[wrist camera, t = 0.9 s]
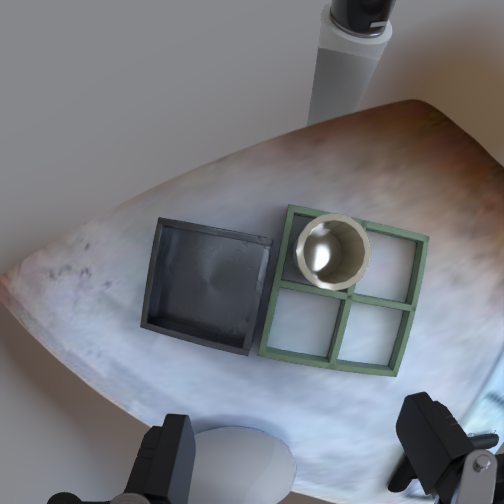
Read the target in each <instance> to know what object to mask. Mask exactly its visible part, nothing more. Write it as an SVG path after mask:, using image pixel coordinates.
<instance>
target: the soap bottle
mask: <svg viewBox="0 0 504 504" xmlns="http://www.w3.org/2000/svg"><path fill="white" fill-rule="evenodd" d="M194 438H195V443H196V455H195V461H194V467H193V473H192V479H191V485H190V491H189V497H188V503H187V504H277V503H278V502H280V501H281V500H282V499H283V498H285V496H287V495H288V494H289V493H290V490H291V488H292V485H293V482H294V479H295V476H296V471H297V466H296V463H295V460H294V457H293V455H292V453H291V451H290V449H289V447H288V446H287V445H286V444H285V443H284V442H283V441H282V440H280V439H278V438H275V437H273V436H271V435H269V434H267V433H265V432H263V431H260V430H256V429H252V428H247V427H235V426H233V427H222V428H218V429H213V430H208V431H203V432H201V433H198V434H196V435H194Z"/></svg>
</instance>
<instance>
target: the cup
mask: <svg viewBox="0 0 504 504" xmlns="http://www.w3.org/2000/svg"><path fill="white" fill-rule="evenodd" d="M292 254H293V260H294V264H295V266H296V267H297V269H298V270H299V272H300V273H301V274H302V275H303V276H304V277H305V278H306V279H307V280H308V281H310V282H311V283H313V284H314V285H316V286H317V287H319V288H321V289H326V290H331V291H337V290H341V289H346V288H349V287H350V286H352V285H353V284H355V283H356V282H357V281H359V280H360V279H361V278H362V276H363V275H364V273H365V272H366V270H367V268H368V266H369V262H370V256H371V248H370V243H369V238H368V236H367V234H366V233H365V231H364V230H363V228H362V226H361V225H360V224H359V223H357V222H356V221H354V220H353V219H352V218H350V217H348V216H345V215H341V214H336V213H331V214H326V215H321V216H318V217H317V218H315V219H314V220H313V221H311V222H310V223H308V224H307V225H306V226H305V228H304V229H303V230H302V232H301V233H300V234H299V236H298V237H297V239H296V240H295V242H294V246H293V252H292Z"/></svg>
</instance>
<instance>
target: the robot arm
mask: <svg viewBox="0 0 504 504" xmlns="http://www.w3.org/2000/svg"><path fill="white" fill-rule="evenodd" d="M395 2H396V0H332V4H331V8H330V13H329V15H330V19H331V21H332V22H333V24H334V25H335V26H336V27H337V28H339V29H340V30H342V31H343V32H345V33H347V34H349V35H352V36H355V37H359V38H365V39H371V38H377V37H379V36H381V35H382V34H383V33H384V31H385V29H386V25H387V22H388V20H389V17H390V15H391V12H392V10H393V7H394V5H395ZM396 433H397V436H398V438H399V440H400V442H401V444H402V446H403V448H404V450H405V452H406V454H407V456H408V458H409V460H410V462H411V464H412V466H413V469H414V471H415V473H416V475H417V477H418V479H419V481H420V483H421V485H422V487H423V489H424V492H425V494H426V495H428V494H430V493H433V492H435V491H437V493H438V496H437V498H436V500H435V503H434V504H504V454H498V455H494V454H493V453H491V452H490V451H488V450H484V449H478V450H477V449H476V447H475V446H474V445H473V443H472V442H471V440H470V439H469V438H468V436H467V435H466V433H465V432H464V431H463V429H462V428H461V426H460V425H459V424H458V422H457V421H456V419H455V418H454V417H453V415H452V414H451V413H450V411H449V410H448V409H447V407H446V406H444V405H443V404H441V403H440V402H438V401H432V399H431V398H430V396H429V395H428V394H427V393H426V392H420V393H416V394H412V395H408V396H406V397H405V399H404V402H403V405H402V408H401V411H400V414H399V417H398V419H397V422H396ZM195 455H196V443H195V438H194V434H193V430H192V426H191V422H190V418H189V416H188V415H180V414H167V415H166V417H165V420H164V423H163V426H162V427H160V426H153V427H152V428H151V429H150V430H149V431H148V432H147V433H146V434H145V435H144V438H143V441H142V443H141V448H140V449H139V452H138V454H137V456H138V457H137V458H136V460H135V463H134V466H133V468H132V471H131V474H130V477H129V480H128V483H127V486H126V489H125V490H124V492H123V493H122V494H120V495H118V496H116V497H115V498H113V500H111V501H106V502H83V501H81V500H80V499H79V498H78V497H77V496H76V495H74V494H71V493H68V492H61V493H57V494H55V495H53V496H52V497H51V498H50V499H49V500H48V502H47V504H187V503H188V497H189V491H190V485H191V479H192V473H193V467H194V461H195Z"/></svg>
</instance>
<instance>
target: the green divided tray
mask: <svg viewBox="0 0 504 504" xmlns="http://www.w3.org/2000/svg"><path fill="white" fill-rule="evenodd" d="M326 214H331V213H329V212H324V211H319V210H315V209H310V208H305V207H300V206H295V205H290V204H289V206H288V211H287V216H286V221H285V226H284V232H283V237H282V242H281V247H280V252H279V257H278V262H277V267H276V272H275V276H274V281H273V286H272V291H271V296H270V300H269V305H268V310H267V315H266V319H265V324H264V328H263V333H262V337H261V342H260V347H259V351H258V356H261V357H265V358H270V359H275V360H280V361H285V362H291V363H296V364H302V365H308V366H314V367H320V368H326V369H333V370H340V371H347V372H354V373H362V374H371V375H380V376H390V377H397V374H398V370H399V367H400V364H401V361H402V358H403V355H404V351H405V348H406V345H407V341H408V338H409V334H410V330H411V327H412V323H413V319H414V315H415V311H416V307H417V302H418V298H419V293H420V289H421V284H422V279H423V273H424V268H425V262H426V256H427V250H428V243H429V236H425V235H422V234H418V233H414V232H410V231H406V230H402V229H398V228H394V227H390V226H386V225H382V224H378V223H373V222H369V221H365V220H360V219H356V218H352V217H350V218H352V219H353V220H354V221H356V222H357V223H359V224H360V225H361V226H362V228H363V230H364V231H365V232H366V230H369V231H373V232H377V233H382V234H386V235H390V236H394V237H398V238H403V239H407V240H411V241H415V242H417V248H416V254H415V260H414V266H413V271H412V277H411V282H410V287H409V291H408V296H407V300H406V303H404V302H399V301H393V300H388V299H382V298H377V297H371V296H366V295H361V294H355V293H354V289H355V285H356V283H355V284H353V285H352V286H350V287H349V288H346V289H344V291H340V290H337V291H331V290H326V289H321V288H319V287H317V286H314V285H309V284H304V283H299V282H294V281H289V280H284V279H281V277H282V272H283V267H284V262H285V257H286V252H287V247H288V242H289V237H290V232H291V227H292V221H293V216H294V215H299V216H304V217H309V218H314V219H315V218H317V217H318V216H321V215H326ZM279 287H282V288H287V289H292V290H297V291H302V292H308V293H313V294H318V295H323V296H328V297H333V298H339V299H342V302H341V307H340V311H339V315H338V319H337V323H336V327H335V331H334V335H333V339H332V343H331V347H330V350H329V354H328V358H325V357H319V356H313V355H307V354H302V353H296V352H291V351H285V350H280V349H275V348H270V347H266V346H267V341H268V337H269V333H270V328H271V324H272V319H273V314H274V310H275V305H276V301H277V296H278V291H279ZM352 301H355V302H360V303H366V304H371V305H377V306H383V307H388V308H394V309H400V310H404V313H403V317H402V321H401V325H400V329H399V332H398V336H397V340H396V343H395V347H394V350H393V353H392V357H391V360H390V363H389V366H383V365H374V364H366V363H359V362H351V361H344V360H338V359H337V357H338V354H339V350H340V346H341V343H342V339H343V335H344V331H345V327H346V323H347V319H348V315H349V311H350V307H351V303H352Z"/></svg>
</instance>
